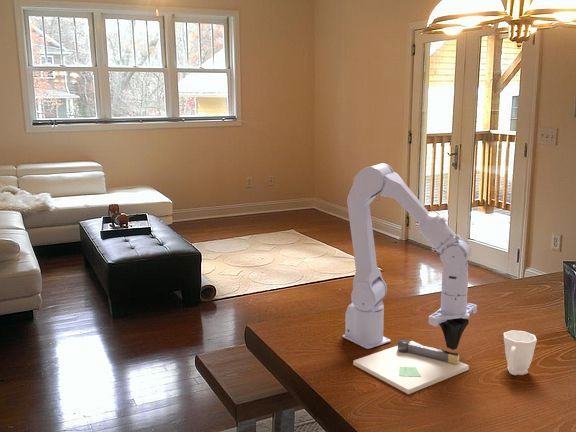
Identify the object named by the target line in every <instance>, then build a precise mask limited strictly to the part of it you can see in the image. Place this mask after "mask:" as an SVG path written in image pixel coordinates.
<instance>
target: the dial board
mask: <svg viewBox="0 0 576 432" xmlns="http://www.w3.org/2000/svg"><path fill="white" fill-rule="evenodd" d="M409 342H410V343H414V344H418V345H422V344H420V343H419V342H415V341H414V340H411V341H410V340H409ZM352 362H353V363H352V365H353V366H355V367H356V368H359V369H360V370H362V371H365V372H366V373H368V374H370V375H372V376H373V377H374V378H375V377H376V378H377V379H378V380H381V381H383V382H384V383H386V384H388V385H390V386H391V387H393V388H396V389H398V390H399V391H401V392H403V393H405V394H407V395H410V394H413V393H415V392H417V391H419V390H422V389H425V388H428V387H430V386H432V385H435V384H437V383H439V382H442V381H445V380H447V379H450V378H452V377H454V376H457V375H459V374H461V373H464V372H467V371H469V370H470V365H469V364H467V363H465V362H462V361H460V360H459V363H458V364H457V365H456V364H452V363H448V362H445V361H441V360H437V359H433V358H429V357H425V356H421V355H417V354H413V353H409V352H406V353H403V352H399V351H398V345H394V346H392V347H390V348H386V349H384V350H380V351H378V352H374V353H371V354H369V355H366V356H362V357H359V358H357V359H354V360H353V361H352Z"/></svg>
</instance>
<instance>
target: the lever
mask: <svg viewBox="0 0 576 432" xmlns="http://www.w3.org/2000/svg"><path fill="white" fill-rule="evenodd" d="M418 344H419V343H418ZM418 344H414V343H410V340H407V339H399V340H398V341H397V346H398V351H399V352H403V353H406V352H409V353H413V354H417V355H421V356H425V357H429V358H433V359H437V360H441V361H445V362H448V363H452V364H456V365H457V364H458V363H459V361H460V353H455V352H452V351H447V350H443V349H438V348H435V347H432V346H431V347H429V346H427V345H424V344H421V345H418Z"/></svg>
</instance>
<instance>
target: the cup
mask: <svg viewBox="0 0 576 432" xmlns="http://www.w3.org/2000/svg"><path fill="white" fill-rule="evenodd" d="M503 341H504V342H503V343H504V353H505V358H506V363H507V366H506V367H507V371H508V372H509V374H510V375H512V376H517V375H518V376H524V375H526V374H528V373H529V371H528V370H529V369H530V367H531V363H532V361H533V358H534V353H535V349H536V345H537V342H538V339H537V337H536V335H535V334H533V333H530V332H528V331H524V330H513V329H511V330H509V331H505V332H503Z"/></svg>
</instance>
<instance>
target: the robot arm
mask: <svg viewBox="0 0 576 432" xmlns="http://www.w3.org/2000/svg"><path fill="white" fill-rule="evenodd" d="M378 195H379V196H381V197H386V198H391V199H394V200H396V201H397V202H398V204H399V205H400V206H401V207H403V209H404V210H405V211H407V212H408V213H409V215H410V216H411V217H412V218H413V219H414V220H415V221H416V222H417V223H418V232H419V233H420V234H421V235H422V236H423V237H424V239H425V240H426V241H427V242H428V243H429V244H430V245H431V246H432V248H433V249H434V250H435V251H436V252H437V253H438V254H439V260H440V262H441V264H442V265H443V266H442V272H441V273H442V275H441V293H440V294H441V296H440V308H439V309H438V310H436V311H435V312H434V313H432V314H431V315H428V325H431V326H433V327H438V326H439V327H440V328H441V331H442V333H443V337H444V340H445V346H446V348H448V349H451V350H452V351H453V350H457V349H458V347H459V344H460V342H461V341H460V340H461V338H462V335H463V333H464V331H465V329H466V328H467V326H468V325H469V318H470V316H471V314H477V313H478V312H477V311H478V305H477V304H474V303H471V302H468V288H469V287H468V285H469V262H468V260H469V259H470V257H471V254H472V248H471V245H470V244H469V243H468V240H466V239H465V238H462V236H460V234H456V233H455V231H454V230H453V229H452V228H451V227H450V226H449V225H448V224H447V223H446V222H448V220H447V219H446V218H445V216H442V217H441V216H440V215H439V214H437V213H430V212H429V211H428V210H427V208H426V207H425V206H424V205H423V203H421V201H420V200H419V199H418V197H417V196H416V195H415V194H414V192H413V191H412V190H411V188H410V187H409V186H408V185H407V184H406V182H405V181H404V180H403V178H402V177H401V176H400V175H399V174H398V173H397V172H396V171H394V169H393V168H392V166H390V165H389V164H387V163H382V162H381V163H377V164H374V165H371V166H366V167H364V168H362V169H361V170H360V171H359V172H358V173H356V174H355V176H354V177H353V183H352V186H351V188H350V190H349V192H348V196H347V198H346V204H347V210H348V219H349V226H350V227H349V228H350V234H351V235H350V236H351V243H352V251H353V258H354V264H355V265H354V266H355V273H354V276H353V280H352V291H351V293H350V299H351V303H349V305H348V306H347V308H346V309H345V310H346V311H345V321H344V322H345V325H344V326H345V330H344V331H345V333H344V334H342V338H344V339H346V340H348V341H350V342H352V343H354V344H356V345H357V346H360V347H362V348H363V349H366V350H369V349H372V348H376V347H378V346H381V345H384V344H388V343H390V342H392V341H391V339H390V338H388V337H386V336H384V317H385V316H384V314H385V313H384V312H385V305H384V301H383V299H384V298H385V297H386V295H387V291H388V286H387V284H386V282H385V280H384V279H383V275H382V271H381V269H380V268H379V267H378V263H377V262H378V261H377V255H376V254H377V253H376V247H375V237H374V230H373V223H372V221H373V220H372V214H371V206H370V204H371V203H372V202H373V201H374V200H375V199H376V198H377V196H378Z"/></svg>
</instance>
